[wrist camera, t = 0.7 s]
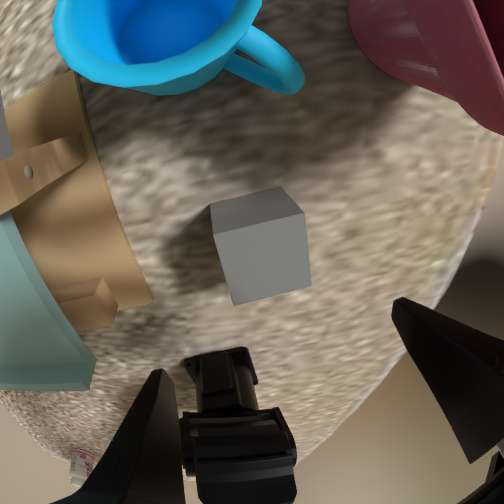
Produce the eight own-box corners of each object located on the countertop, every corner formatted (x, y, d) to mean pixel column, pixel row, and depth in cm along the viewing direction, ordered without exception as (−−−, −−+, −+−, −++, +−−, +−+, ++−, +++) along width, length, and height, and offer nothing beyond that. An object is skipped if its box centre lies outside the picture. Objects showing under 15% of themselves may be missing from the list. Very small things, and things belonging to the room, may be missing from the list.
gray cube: (289, 248, 22) (311, 285, 18) (226, 263, 22) (233, 305, 17) (280, 186, 19) (304, 212, 15) (209, 203, 19) (213, 234, 15)
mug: (88, 71, 13) (21, 59, 6) (154, -27, 10) (131, -89, 3) (247, 143, 17) (279, 170, 10) (310, 47, 15) (378, 20, 8)
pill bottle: (98, 455, 38) (95, 490, 31) (88, 458, 39) (86, 490, 32) (77, 447, 36) (73, 483, 29) (69, 449, 37) (65, 483, 30)
